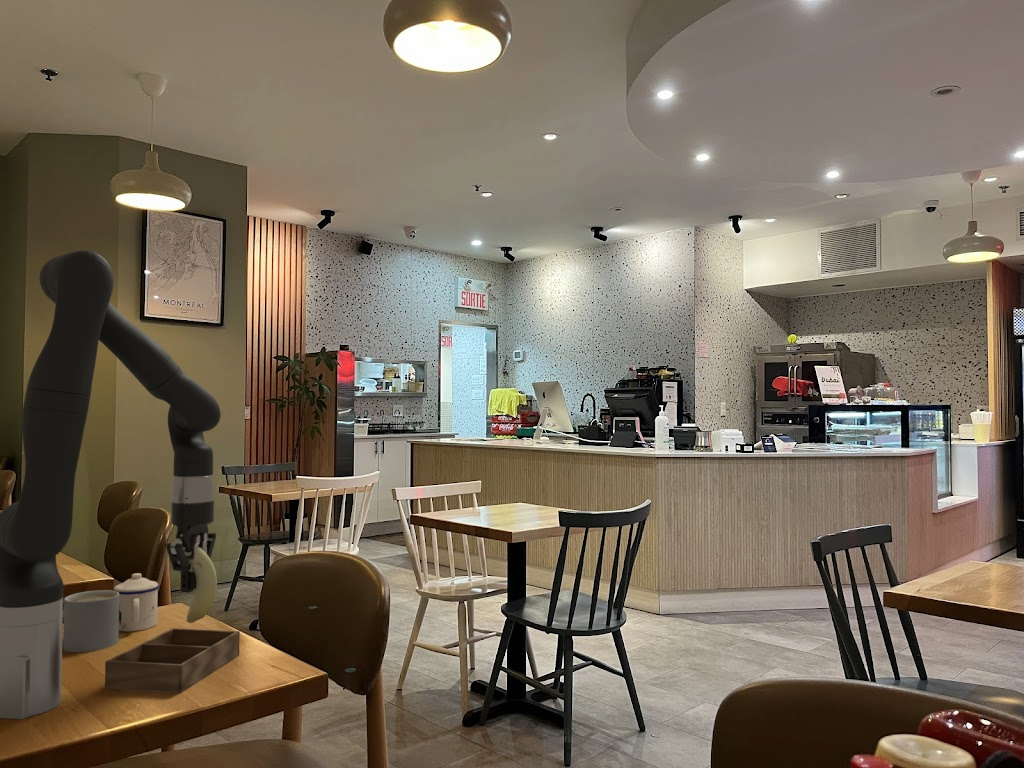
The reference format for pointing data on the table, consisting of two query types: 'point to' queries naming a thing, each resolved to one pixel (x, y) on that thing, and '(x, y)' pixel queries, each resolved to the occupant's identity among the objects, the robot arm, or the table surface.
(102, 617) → the coffee mug
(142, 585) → the teacup with lid
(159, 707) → the table surface
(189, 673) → the walnut crate
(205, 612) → the fruit
